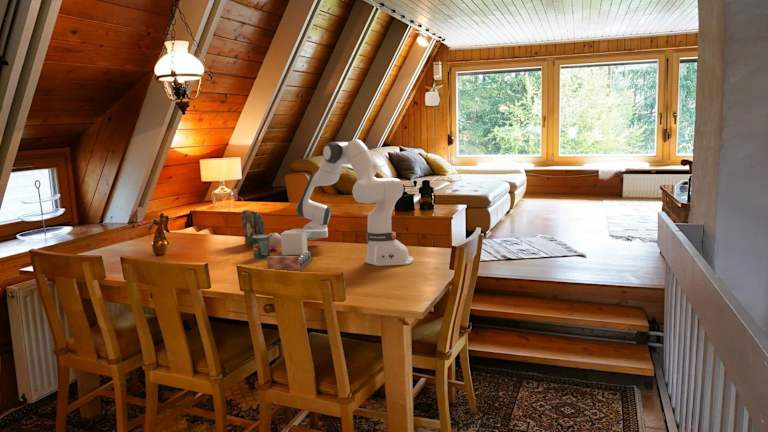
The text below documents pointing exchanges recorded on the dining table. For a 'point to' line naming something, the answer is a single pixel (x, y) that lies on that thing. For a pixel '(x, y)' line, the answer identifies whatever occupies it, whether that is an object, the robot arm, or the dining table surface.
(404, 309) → the dining table surface
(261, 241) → the canned tomato
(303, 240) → the pale grey cube
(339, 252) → the dining table surface
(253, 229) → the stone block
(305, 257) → the rollers
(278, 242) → the decorative fruit
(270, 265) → the roller bed
